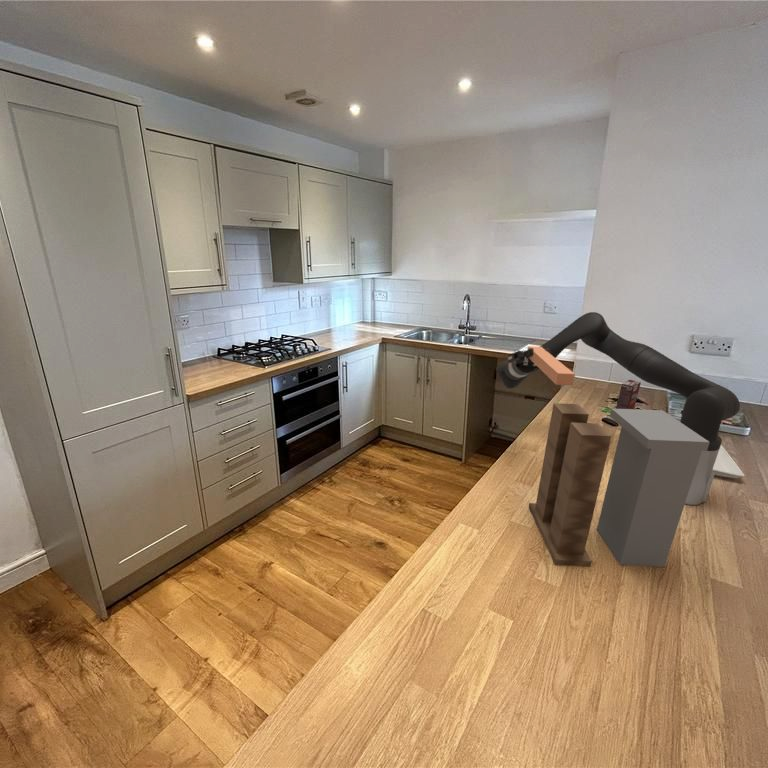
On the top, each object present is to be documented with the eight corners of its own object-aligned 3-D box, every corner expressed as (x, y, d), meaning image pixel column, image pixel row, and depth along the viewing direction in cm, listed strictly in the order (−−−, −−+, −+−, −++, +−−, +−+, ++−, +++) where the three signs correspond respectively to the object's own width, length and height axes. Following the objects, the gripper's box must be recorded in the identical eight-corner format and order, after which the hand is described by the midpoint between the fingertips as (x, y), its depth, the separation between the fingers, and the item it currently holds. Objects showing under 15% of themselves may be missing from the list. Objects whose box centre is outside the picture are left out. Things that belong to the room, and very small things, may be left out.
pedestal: (632, 521, 109) (662, 410, 98) (668, 567, 94) (709, 442, 83) (586, 519, 109) (611, 408, 98) (615, 564, 94) (649, 439, 83)
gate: (557, 508, 113) (579, 401, 102) (590, 566, 94) (621, 440, 83) (528, 507, 114) (546, 400, 103) (554, 564, 94) (580, 439, 83)
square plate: (642, 466, 136) (645, 456, 135) (630, 432, 160) (632, 423, 159) (743, 485, 127) (747, 474, 126) (714, 446, 151) (717, 437, 150)
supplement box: (625, 423, 167) (634, 386, 162) (612, 419, 171) (620, 383, 165) (632, 417, 173) (641, 382, 168) (620, 414, 176) (628, 379, 171)
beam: (526, 355, 126) (528, 346, 125) (539, 356, 126) (541, 346, 125) (556, 384, 102) (558, 373, 101) (572, 385, 102) (574, 373, 101)
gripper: (500, 352, 138) (515, 338, 121) (543, 354, 138) (564, 339, 121) (501, 374, 137) (515, 363, 120) (544, 376, 136) (565, 364, 119)
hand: (540, 351), depth 120 cm, fingers closed on beam, 4 cm apart
